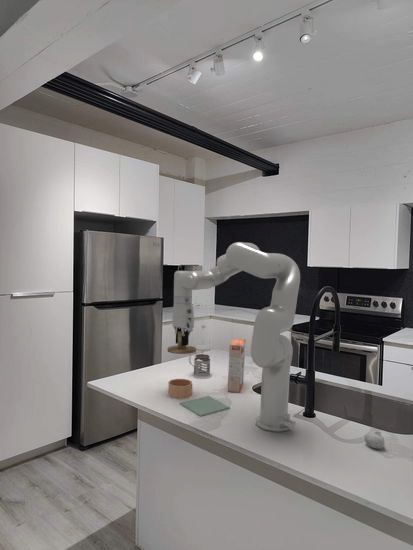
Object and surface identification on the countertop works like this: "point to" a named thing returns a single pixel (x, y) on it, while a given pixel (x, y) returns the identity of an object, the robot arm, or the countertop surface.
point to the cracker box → (236, 365)
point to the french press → (201, 362)
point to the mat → (204, 406)
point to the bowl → (180, 388)
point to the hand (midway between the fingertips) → (182, 343)
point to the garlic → (374, 440)
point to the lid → (181, 347)
